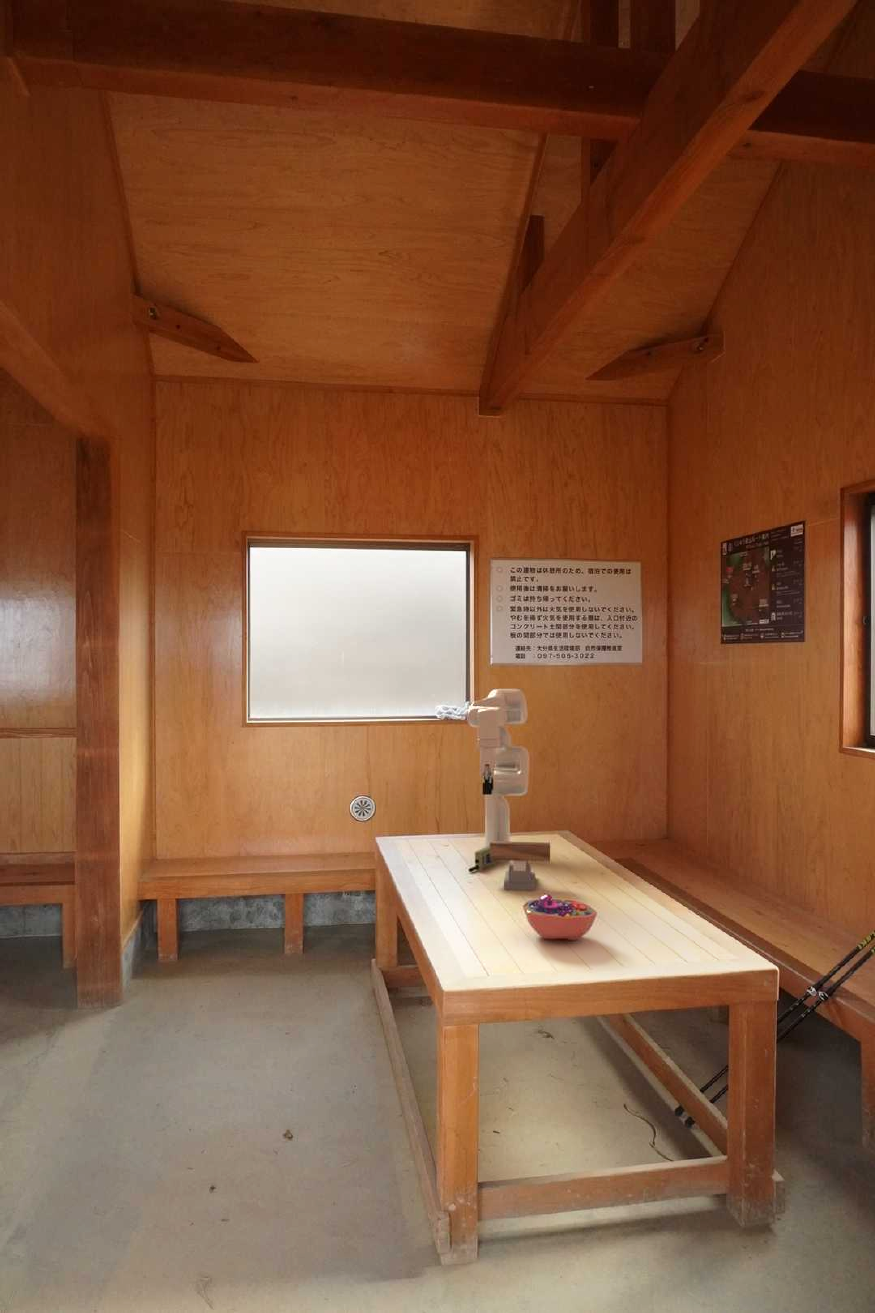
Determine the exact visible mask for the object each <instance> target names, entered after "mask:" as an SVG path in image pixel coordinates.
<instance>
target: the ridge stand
mask: <svg viewBox="0 0 875 1313" xmlns="http://www.w3.org/2000/svg"><path fill="white" fill-rule="evenodd" d="M531 865H532V861H513V860H509V866H508V870H506V871H505V875H504V880H503V890H508V891H509V890H510V891H530V892H531V891H532V892H533V891H536V890H535V888H536V871H532V866H531Z"/></svg>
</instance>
